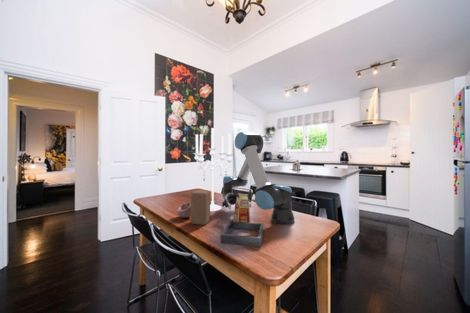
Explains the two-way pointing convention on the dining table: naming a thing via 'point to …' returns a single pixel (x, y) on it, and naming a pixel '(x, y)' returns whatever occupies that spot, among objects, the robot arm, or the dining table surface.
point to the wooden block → (200, 207)
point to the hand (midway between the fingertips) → (240, 206)
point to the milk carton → (242, 209)
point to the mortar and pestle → (184, 210)
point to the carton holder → (239, 238)
